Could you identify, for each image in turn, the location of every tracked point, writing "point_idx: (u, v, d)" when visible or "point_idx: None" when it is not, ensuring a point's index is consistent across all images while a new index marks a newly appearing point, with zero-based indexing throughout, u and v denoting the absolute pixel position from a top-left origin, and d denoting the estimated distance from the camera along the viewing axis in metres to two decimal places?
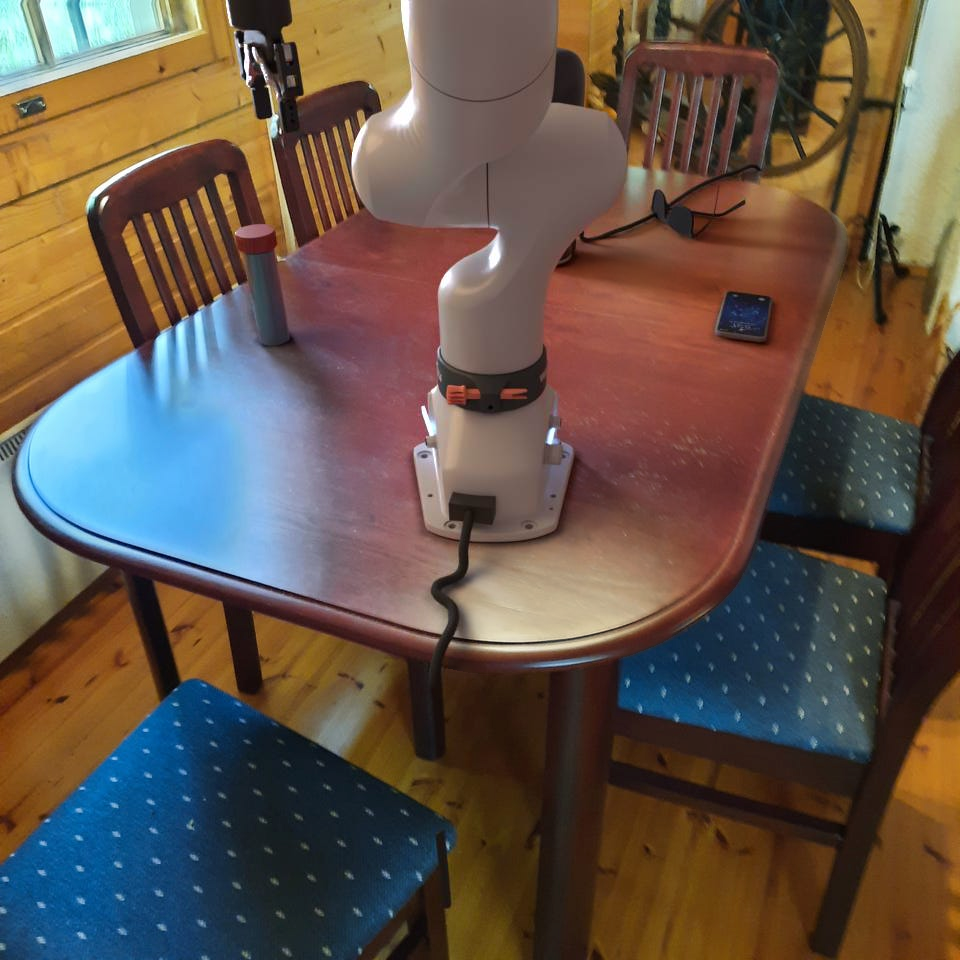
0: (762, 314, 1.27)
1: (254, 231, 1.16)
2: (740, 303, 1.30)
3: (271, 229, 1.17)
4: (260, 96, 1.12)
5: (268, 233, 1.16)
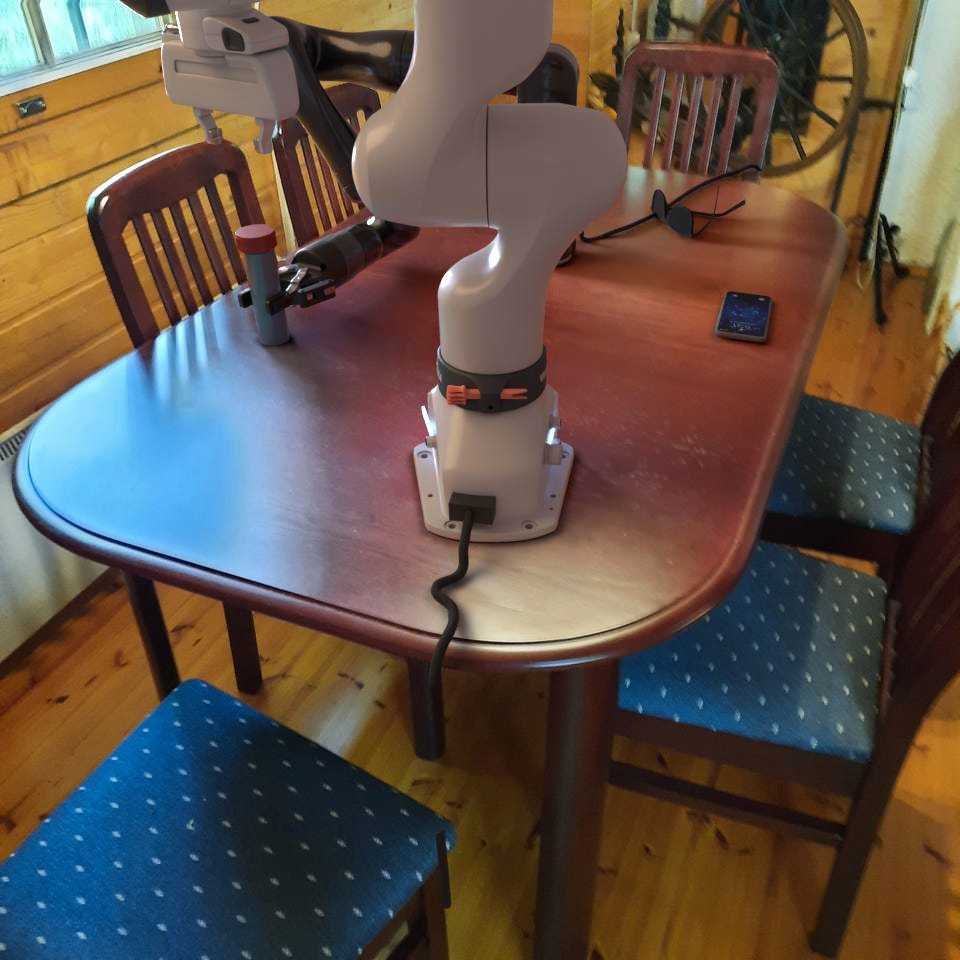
0: (762, 314, 1.27)
1: (254, 231, 1.16)
2: (740, 303, 1.30)
3: (271, 229, 1.17)
4: None
5: (268, 233, 1.16)
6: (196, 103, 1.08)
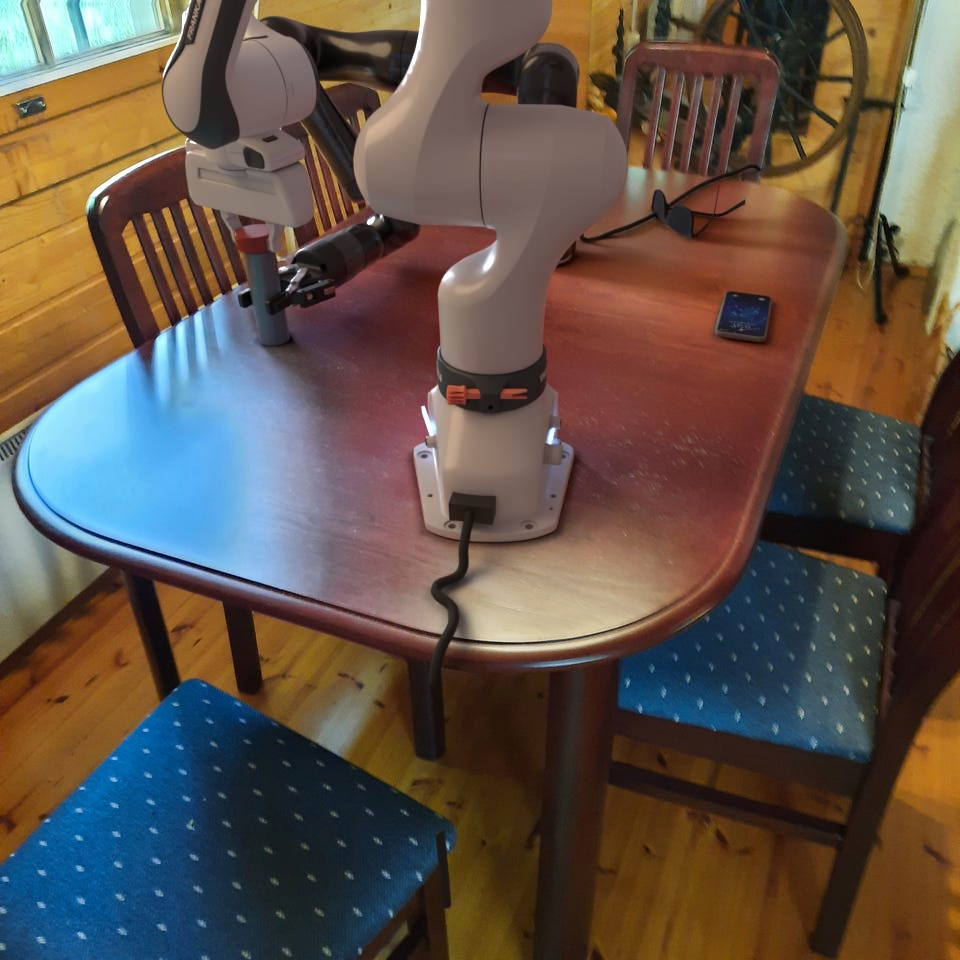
0: (762, 314, 1.27)
1: (254, 231, 1.16)
2: (740, 303, 1.30)
3: None
4: None
5: (268, 233, 1.16)
6: (218, 206, 1.16)
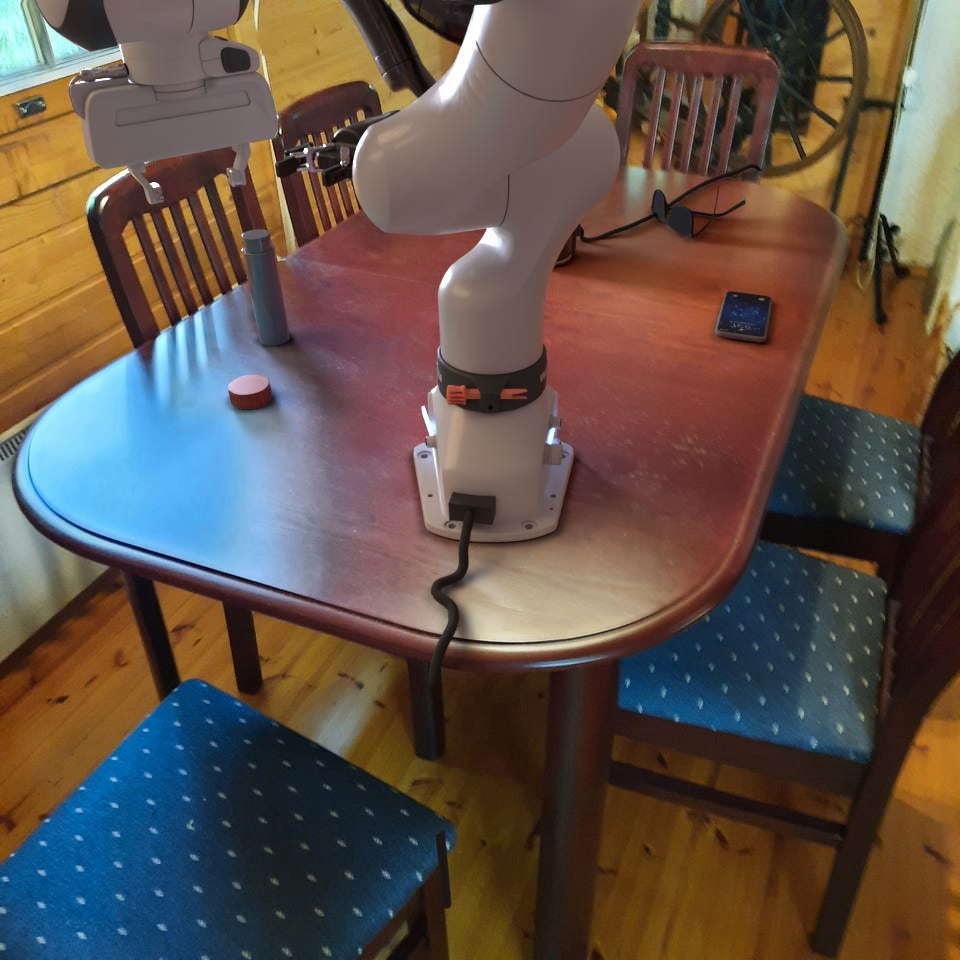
0: (762, 314, 1.27)
1: (248, 383, 1.11)
2: (740, 303, 1.30)
3: (231, 388, 1.10)
4: None
5: (231, 383, 1.12)
6: (152, 155, 0.89)
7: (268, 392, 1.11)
